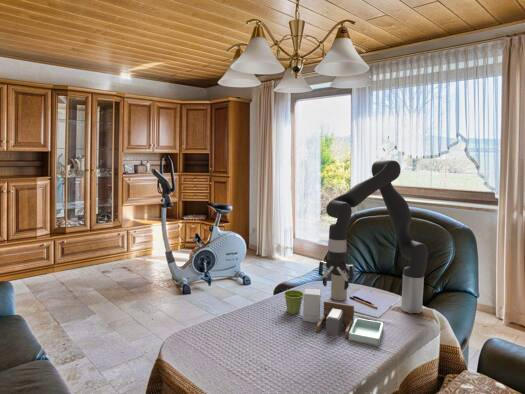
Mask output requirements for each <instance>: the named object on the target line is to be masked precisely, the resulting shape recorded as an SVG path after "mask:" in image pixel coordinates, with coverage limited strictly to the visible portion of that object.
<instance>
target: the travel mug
mask: <svg viewBox="0 0 525 394" xmlns="http://www.w3.org/2000/svg"><path fill="white" fill-rule="evenodd" d="M345 271H346V273H347V274H348V272H349V270H348V268H346V269H345ZM330 281H331V283H330V298H331V299H333V300H334V301H338V302H340V301H346V300H347V299H348V298H347V297H348V289H346V290H344V285H345V279H344V278H343V277H342V275H341V274H336V273H335V274H333V273H331V279H330Z"/></svg>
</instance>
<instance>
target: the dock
mask: <svg viewBox="0 0 525 394" xmlns="http://www.w3.org/2000/svg"><path fill="white" fill-rule="evenodd" d="M333 308H334V309H340V310H342V311H343V326H344V325H345V326H346V329H345V332H344V333H345V334H344V339H346V340H349V332H350V330H351V327H352V325H353V323H354V321H355V319H354V318H355V317H354V315H355V305H352V304H346V303H341V302H334V301H327V300H324V301H323V315H322V316H321V318H320V319H319V322H317V324H316V325H315V326H316V328H315V332H316V334H319V333H320V331H321V330H322V328H323V326H324V325H325V324H326V318H327V316H328V315H329V313H330V311H331V310H332V309H333Z"/></svg>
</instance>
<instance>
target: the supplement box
mask: <svg viewBox="0 0 525 394" xmlns="http://www.w3.org/2000/svg"><path fill="white" fill-rule="evenodd" d="M303 293H304V296H303V312H302V313H303V315H302V316H303V317H302V321H303V322H311V323H318V322H319V321H320V319H321V318H320V317H321V299H322V298H321V296H322V295H321V293H322V292H321V289H320V288H319V289H316V288H304V292H303Z"/></svg>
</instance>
